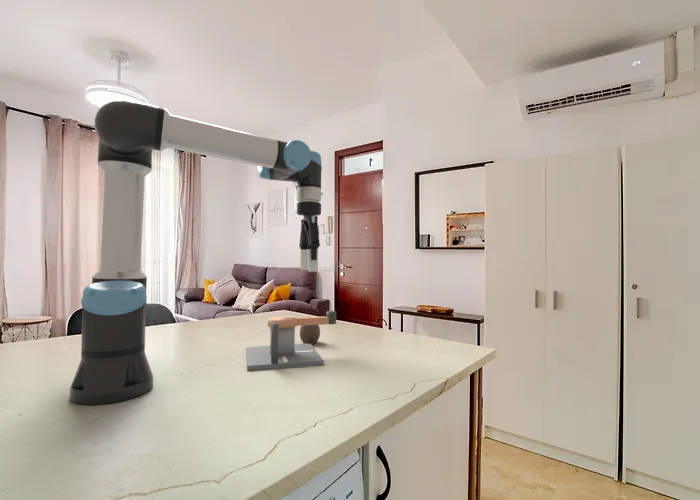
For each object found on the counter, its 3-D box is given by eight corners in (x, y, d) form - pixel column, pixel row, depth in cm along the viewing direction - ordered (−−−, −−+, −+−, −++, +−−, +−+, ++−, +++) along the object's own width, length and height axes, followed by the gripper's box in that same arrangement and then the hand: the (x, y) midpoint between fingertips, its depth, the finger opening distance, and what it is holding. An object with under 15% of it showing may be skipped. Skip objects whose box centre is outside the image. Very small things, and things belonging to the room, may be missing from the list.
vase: (318, 345, 124) (319, 319, 124) (298, 345, 124) (298, 318, 124) (320, 340, 131) (321, 315, 131) (301, 340, 131) (301, 315, 131)
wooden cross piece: (268, 328, 104) (269, 316, 104) (266, 323, 112) (267, 311, 112) (339, 325, 110) (339, 313, 110) (332, 320, 118) (332, 309, 118)
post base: (323, 364, 102) (323, 322, 102) (247, 370, 97) (247, 325, 97) (310, 347, 122) (310, 311, 122) (245, 351, 116) (246, 313, 116)
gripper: (330, 197, 106) (329, 272, 106) (312, 207, 130) (312, 268, 130) (304, 195, 104) (303, 272, 104) (291, 206, 128) (290, 268, 128)
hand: (308, 270), depth 117 cm, fingers open, 13 cm apart
